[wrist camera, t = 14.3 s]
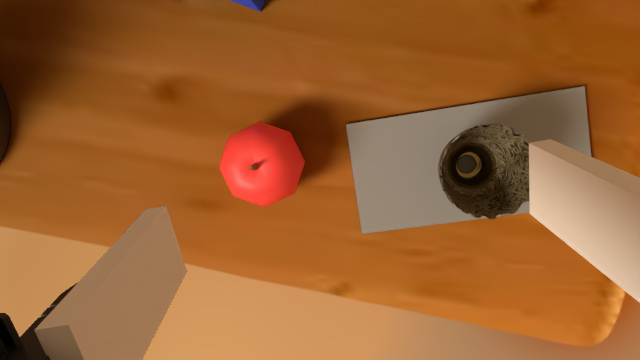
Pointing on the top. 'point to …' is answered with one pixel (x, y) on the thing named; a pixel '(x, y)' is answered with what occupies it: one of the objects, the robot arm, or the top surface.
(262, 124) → the apple
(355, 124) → the rubber mat
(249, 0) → the bracket
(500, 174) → the cup
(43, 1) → the top surface
